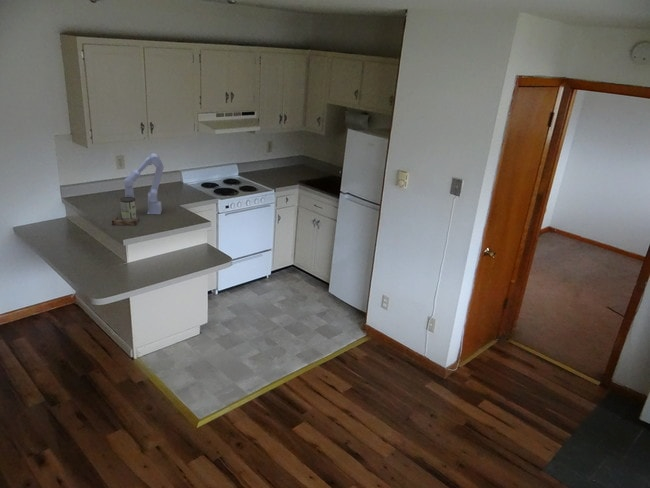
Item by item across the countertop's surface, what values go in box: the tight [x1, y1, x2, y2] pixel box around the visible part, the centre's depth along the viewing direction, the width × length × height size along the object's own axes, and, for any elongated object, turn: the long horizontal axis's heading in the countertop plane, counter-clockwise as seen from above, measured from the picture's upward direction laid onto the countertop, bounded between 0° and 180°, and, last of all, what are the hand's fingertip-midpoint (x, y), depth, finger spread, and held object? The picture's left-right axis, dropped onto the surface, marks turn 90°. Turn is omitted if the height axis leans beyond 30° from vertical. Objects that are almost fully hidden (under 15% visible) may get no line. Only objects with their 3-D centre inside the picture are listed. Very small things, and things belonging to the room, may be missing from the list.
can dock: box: [111, 215, 140, 226], centre depth 347 cm, size 16×10×3 cm, turn 99°
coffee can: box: [119, 196, 138, 220], centre depth 355 cm, size 10×10×14 cm
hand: (131, 212), depth 364 cm, fingers closed
